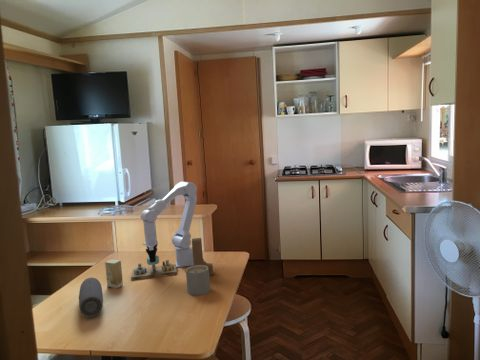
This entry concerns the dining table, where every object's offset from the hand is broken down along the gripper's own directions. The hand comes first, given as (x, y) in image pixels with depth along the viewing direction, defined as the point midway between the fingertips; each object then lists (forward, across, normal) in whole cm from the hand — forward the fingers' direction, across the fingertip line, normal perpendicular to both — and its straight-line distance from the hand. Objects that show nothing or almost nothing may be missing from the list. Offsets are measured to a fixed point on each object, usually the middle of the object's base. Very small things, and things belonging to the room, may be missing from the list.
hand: (153, 260), depth 202 cm
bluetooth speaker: (+7, +32, -25) cm, 41 cm away
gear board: (+7, 0, 0) cm, 7 cm away
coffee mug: (+7, +28, +20) cm, 35 cm away
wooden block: (+7, +11, +24) cm, 27 cm away
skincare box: (+7, +10, -18) cm, 22 cm away
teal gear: (+2, 0, 0) cm, 2 cm away
